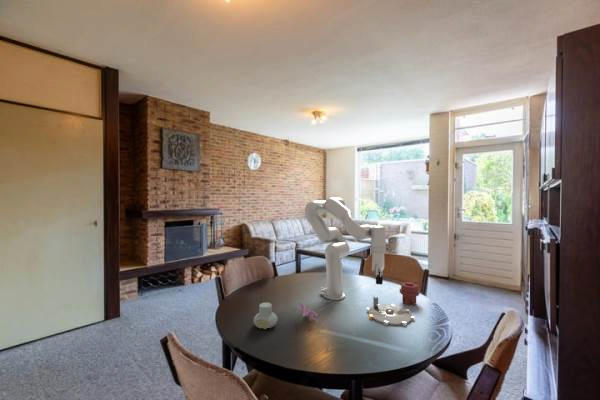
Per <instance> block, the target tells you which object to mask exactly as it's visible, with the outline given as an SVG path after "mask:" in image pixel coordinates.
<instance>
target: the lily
mask: <svg viewBox="0 0 600 400" xmlns="http://www.w3.org/2000/svg"><path fill="white" fill-rule="evenodd" d="M296 301H297V302H298V304H299V306H297V309H299V311H302V317H301V320H300V323H302V322H303V319H304V316H306V317H310V318H312V319H313V320H314V321H317V320H316V319H315V317H314V316H319V314H318V313H316V312H315V311H313V310H311V309H310V307H308V306H307V305H304V304H303V302H301V301H299V300H298V299H297V300H296Z"/></svg>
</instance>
